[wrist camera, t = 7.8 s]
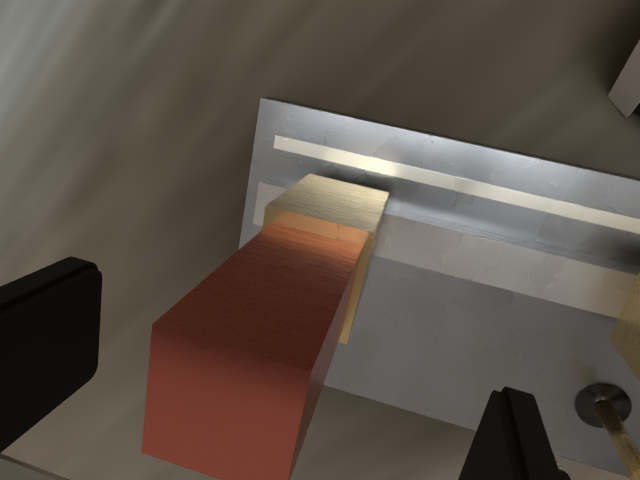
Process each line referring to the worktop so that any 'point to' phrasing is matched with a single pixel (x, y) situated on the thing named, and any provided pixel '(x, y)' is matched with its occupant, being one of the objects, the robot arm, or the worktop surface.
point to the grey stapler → (628, 86)
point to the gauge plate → (457, 313)
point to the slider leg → (262, 336)
